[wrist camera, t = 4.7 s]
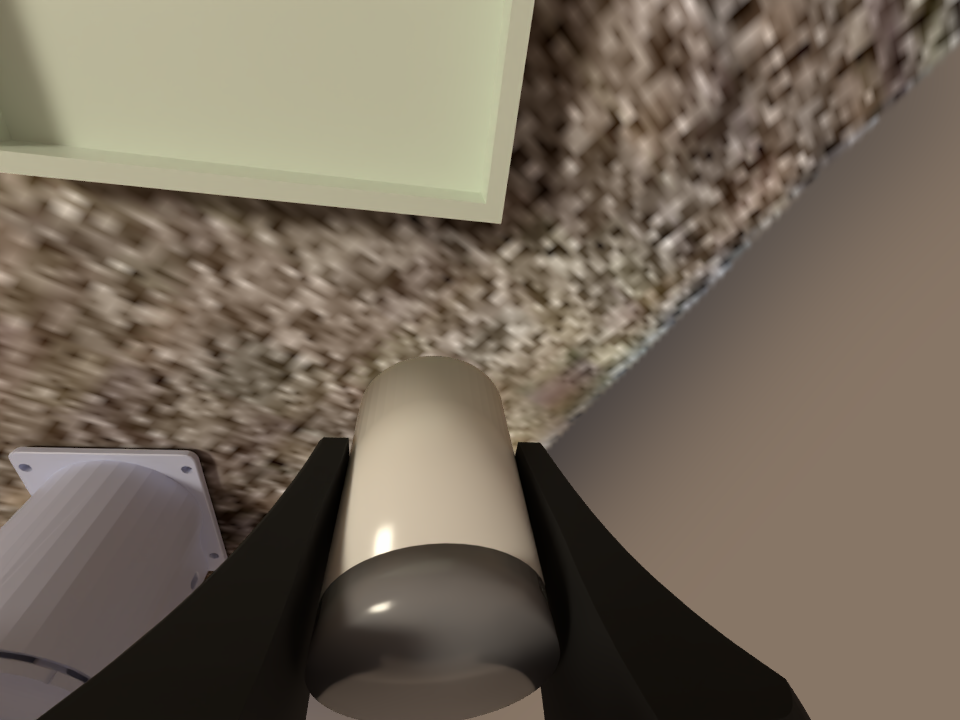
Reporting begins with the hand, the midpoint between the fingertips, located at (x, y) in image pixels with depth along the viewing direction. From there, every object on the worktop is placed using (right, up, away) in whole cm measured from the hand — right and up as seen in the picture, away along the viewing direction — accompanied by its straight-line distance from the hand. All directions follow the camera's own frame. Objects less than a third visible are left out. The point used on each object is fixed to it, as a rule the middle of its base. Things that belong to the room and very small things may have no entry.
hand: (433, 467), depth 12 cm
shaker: (0, +1, +2) cm, 2 cm away
